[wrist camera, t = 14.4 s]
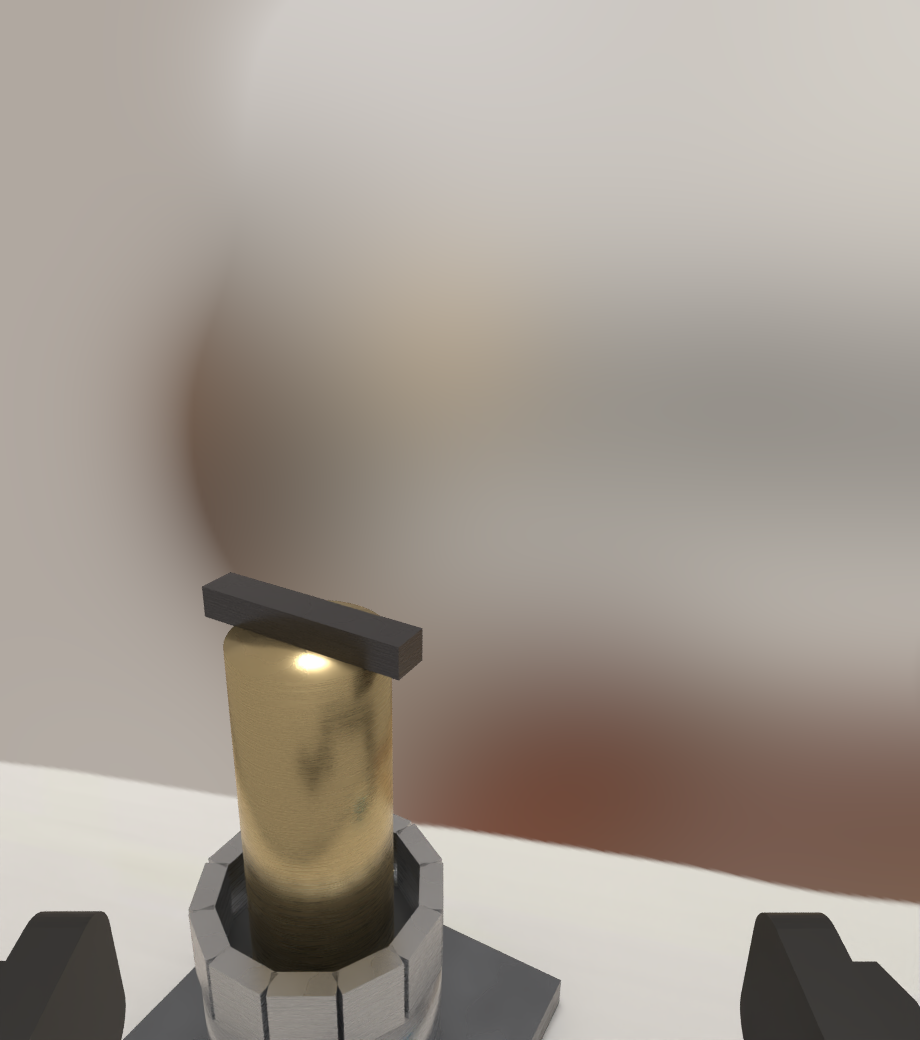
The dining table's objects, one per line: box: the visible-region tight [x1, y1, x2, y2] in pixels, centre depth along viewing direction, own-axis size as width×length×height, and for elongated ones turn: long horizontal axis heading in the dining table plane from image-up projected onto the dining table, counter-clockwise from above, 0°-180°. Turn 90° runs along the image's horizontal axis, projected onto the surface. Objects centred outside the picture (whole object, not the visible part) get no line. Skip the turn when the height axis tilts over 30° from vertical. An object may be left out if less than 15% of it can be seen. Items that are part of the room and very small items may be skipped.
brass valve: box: [202, 572, 422, 972], centre depth 26 cm, size 5×7×13 cm
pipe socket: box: [123, 814, 561, 1040], centre depth 29 cm, size 13×13×8 cm
